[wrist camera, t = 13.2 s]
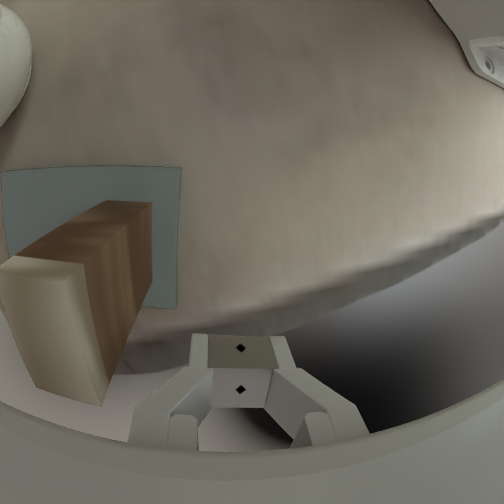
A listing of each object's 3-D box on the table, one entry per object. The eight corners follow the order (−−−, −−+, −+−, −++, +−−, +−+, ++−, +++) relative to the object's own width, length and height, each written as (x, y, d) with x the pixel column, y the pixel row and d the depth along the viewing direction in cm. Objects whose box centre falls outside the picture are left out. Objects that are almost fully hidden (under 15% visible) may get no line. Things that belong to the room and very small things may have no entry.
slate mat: (181, 167, 15) (179, 168, 15) (176, 303, 18) (175, 309, 18) (7, 170, 13) (1, 172, 13) (20, 281, 17) (15, 286, 16)
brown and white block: (152, 202, 15) (65, 282, 6) (152, 280, 17) (101, 406, 8) (106, 200, 15) (-7, 270, 5) (110, 276, 16) (36, 387, 7)
